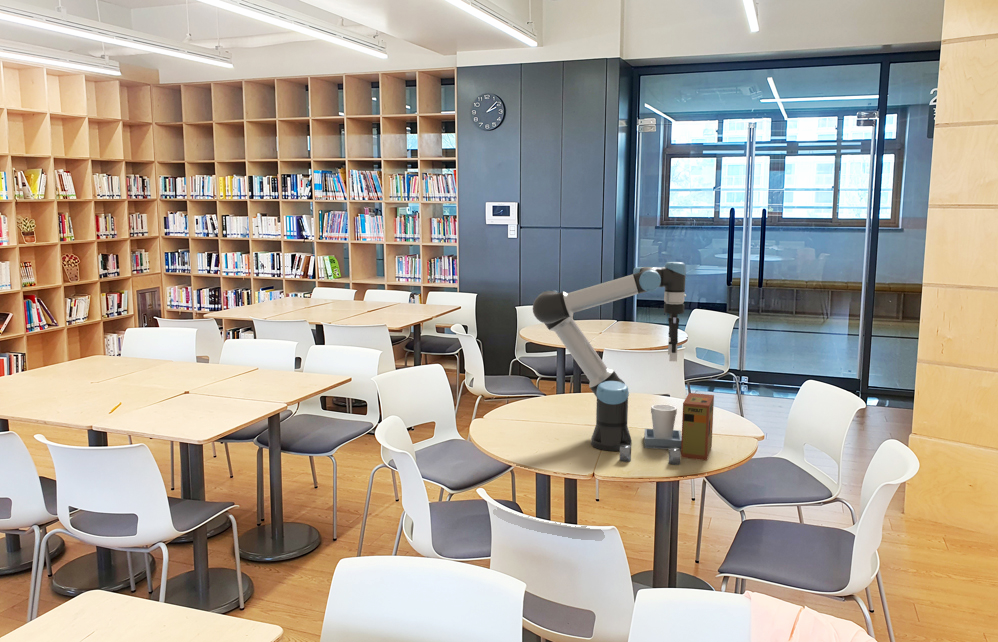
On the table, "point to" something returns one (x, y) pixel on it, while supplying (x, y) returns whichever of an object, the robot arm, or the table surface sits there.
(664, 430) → the foam cup
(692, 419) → the box
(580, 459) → the table surface
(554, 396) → the table surface
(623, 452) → the metal cylinder
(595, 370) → the robot arm
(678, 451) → the shiny gray cylinder
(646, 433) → the tray
